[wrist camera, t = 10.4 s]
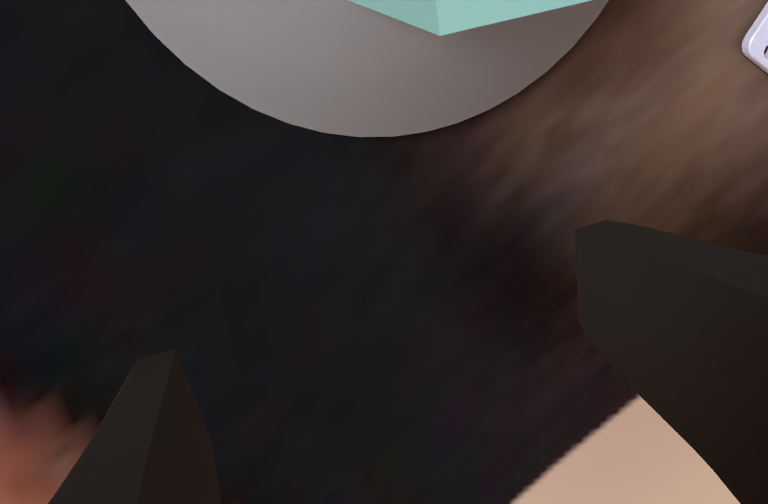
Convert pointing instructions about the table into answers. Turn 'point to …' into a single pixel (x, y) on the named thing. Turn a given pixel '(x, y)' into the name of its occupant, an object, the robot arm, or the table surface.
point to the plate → (360, 60)
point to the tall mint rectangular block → (460, 11)
